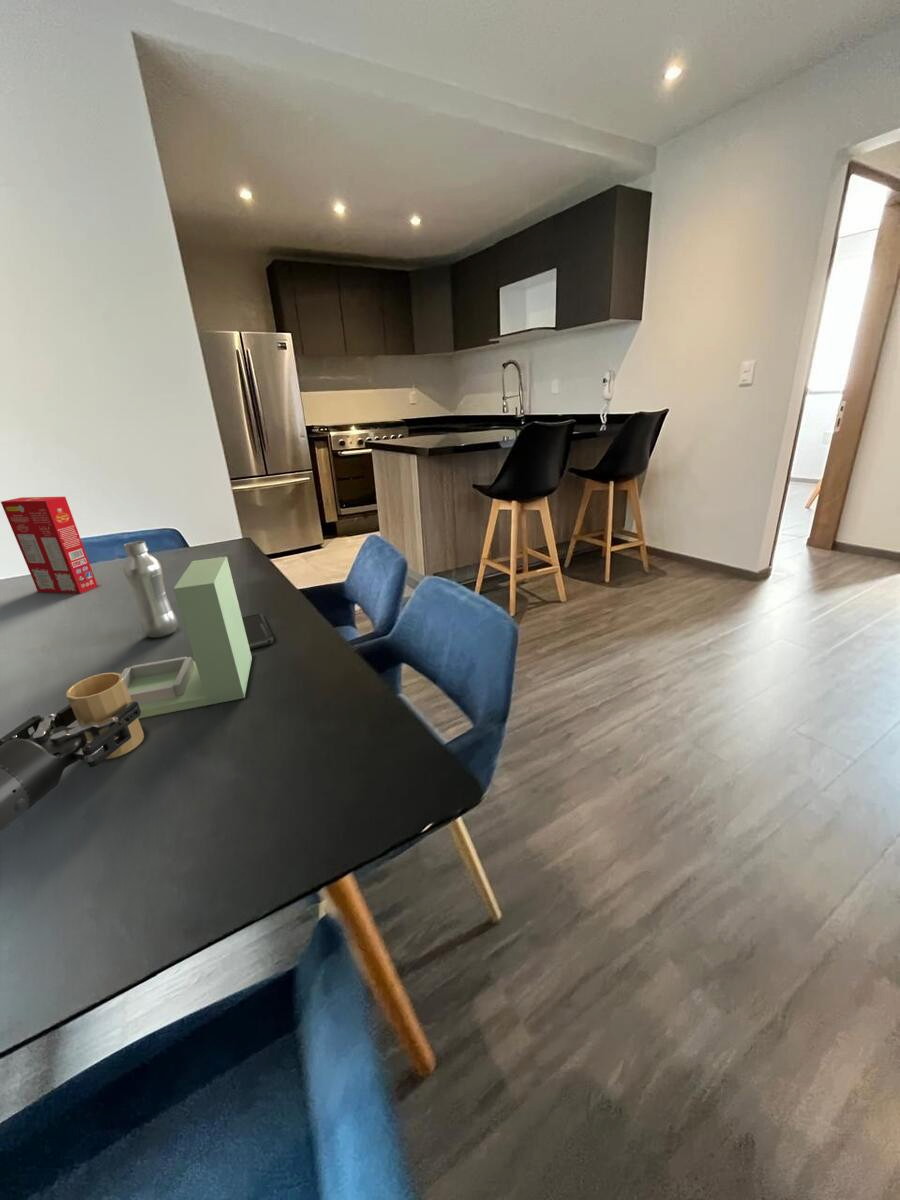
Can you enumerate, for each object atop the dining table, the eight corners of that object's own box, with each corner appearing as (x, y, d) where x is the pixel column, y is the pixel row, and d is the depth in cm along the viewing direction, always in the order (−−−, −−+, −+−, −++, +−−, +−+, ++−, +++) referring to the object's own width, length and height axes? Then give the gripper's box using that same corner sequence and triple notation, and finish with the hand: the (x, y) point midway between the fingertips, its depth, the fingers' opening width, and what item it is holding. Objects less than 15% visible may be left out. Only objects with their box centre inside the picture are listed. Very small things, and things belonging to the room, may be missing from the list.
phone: (231, 649, 93) (223, 621, 105) (232, 654, 94) (224, 626, 106) (273, 638, 96) (261, 612, 109) (275, 643, 97) (262, 617, 109)
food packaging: (97, 586, 136) (65, 496, 127) (80, 593, 132) (45, 500, 122) (56, 585, 140) (21, 497, 130) (38, 592, 135) (0, 501, 125)
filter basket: (84, 764, 67) (57, 703, 63) (101, 735, 72) (77, 677, 69) (136, 753, 68) (113, 692, 64) (149, 726, 74) (128, 668, 70)
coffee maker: (102, 726, 75) (53, 605, 67) (130, 679, 87) (92, 574, 79) (244, 698, 79) (214, 582, 72) (252, 658, 92) (226, 556, 84)
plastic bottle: (139, 637, 104) (108, 546, 96) (171, 624, 109) (144, 537, 101) (154, 644, 100) (123, 550, 92) (186, 631, 105) (159, 540, 97)
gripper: (36, 768, 51) (147, 684, 66) (-74, 760, 54) (57, 680, 69) (62, 822, 54) (163, 729, 69) (-43, 811, 57) (76, 724, 71)
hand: (110, 705), depth 69 cm, fingers open, 8 cm apart
